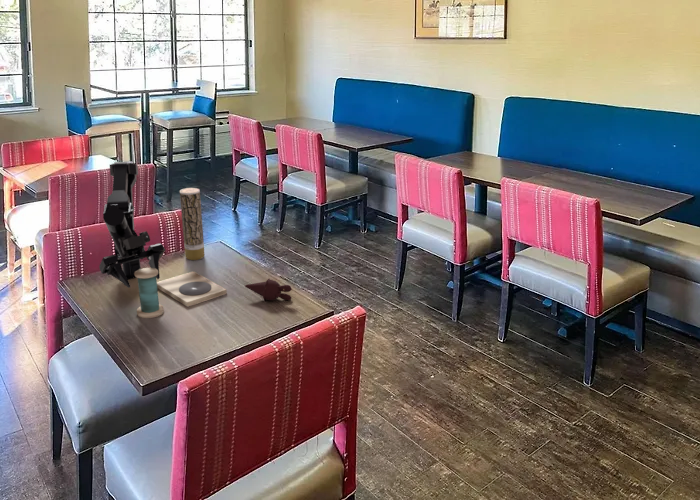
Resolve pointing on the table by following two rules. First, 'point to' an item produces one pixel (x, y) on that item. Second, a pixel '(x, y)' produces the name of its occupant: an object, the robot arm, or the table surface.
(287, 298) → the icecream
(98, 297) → the table surface
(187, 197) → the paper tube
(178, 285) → the stand board
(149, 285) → the bobbin
